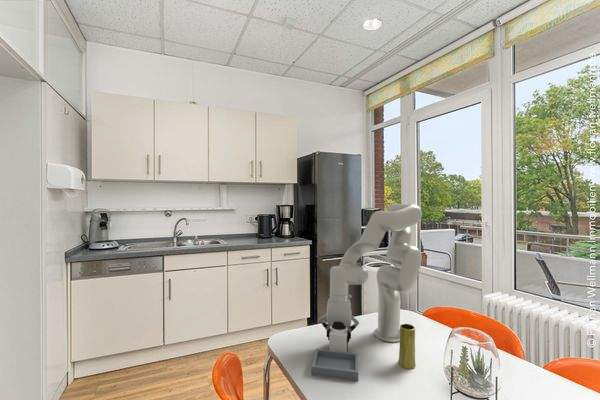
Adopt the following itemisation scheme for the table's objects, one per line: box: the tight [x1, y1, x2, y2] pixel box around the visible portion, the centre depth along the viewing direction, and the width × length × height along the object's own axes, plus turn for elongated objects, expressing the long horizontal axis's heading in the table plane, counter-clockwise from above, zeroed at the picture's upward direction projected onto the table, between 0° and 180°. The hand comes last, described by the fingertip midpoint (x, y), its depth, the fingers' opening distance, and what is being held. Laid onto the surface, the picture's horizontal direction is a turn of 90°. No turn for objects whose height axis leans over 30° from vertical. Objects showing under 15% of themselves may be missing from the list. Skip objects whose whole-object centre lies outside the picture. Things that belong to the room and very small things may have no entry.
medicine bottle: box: [328, 322, 349, 352], centre depth 119 cm, size 7×7×12 cm
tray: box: [311, 348, 360, 382], centre depth 105 cm, size 16×12×3 cm
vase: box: [397, 323, 416, 370], centre depth 108 cm, size 6×6×14 cm
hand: (338, 339), depth 119 cm, fingers closed on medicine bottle, 7 cm apart
